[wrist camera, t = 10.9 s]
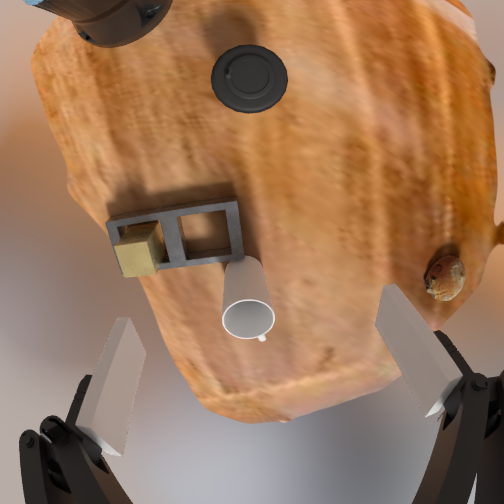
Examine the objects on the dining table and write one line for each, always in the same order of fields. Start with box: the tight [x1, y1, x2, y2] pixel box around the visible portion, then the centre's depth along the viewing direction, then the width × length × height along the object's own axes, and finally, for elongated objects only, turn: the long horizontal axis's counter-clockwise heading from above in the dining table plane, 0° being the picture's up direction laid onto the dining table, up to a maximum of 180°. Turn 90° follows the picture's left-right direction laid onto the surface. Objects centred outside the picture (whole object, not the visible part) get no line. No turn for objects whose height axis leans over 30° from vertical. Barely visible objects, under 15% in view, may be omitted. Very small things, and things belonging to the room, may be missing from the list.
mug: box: [222, 256, 275, 341], centre depth 41 cm, size 10×7×12 cm, turn 22°
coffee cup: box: [211, 45, 288, 114], centre depth 28 cm, size 8×8×10 cm
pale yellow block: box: [114, 222, 166, 278], centre depth 39 cm, size 5×5×7 cm
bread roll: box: [425, 255, 465, 301], centre depth 48 cm, size 10×10×8 cm
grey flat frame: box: [105, 196, 245, 274], centre depth 40 cm, size 9×20×2 cm, turn 96°
